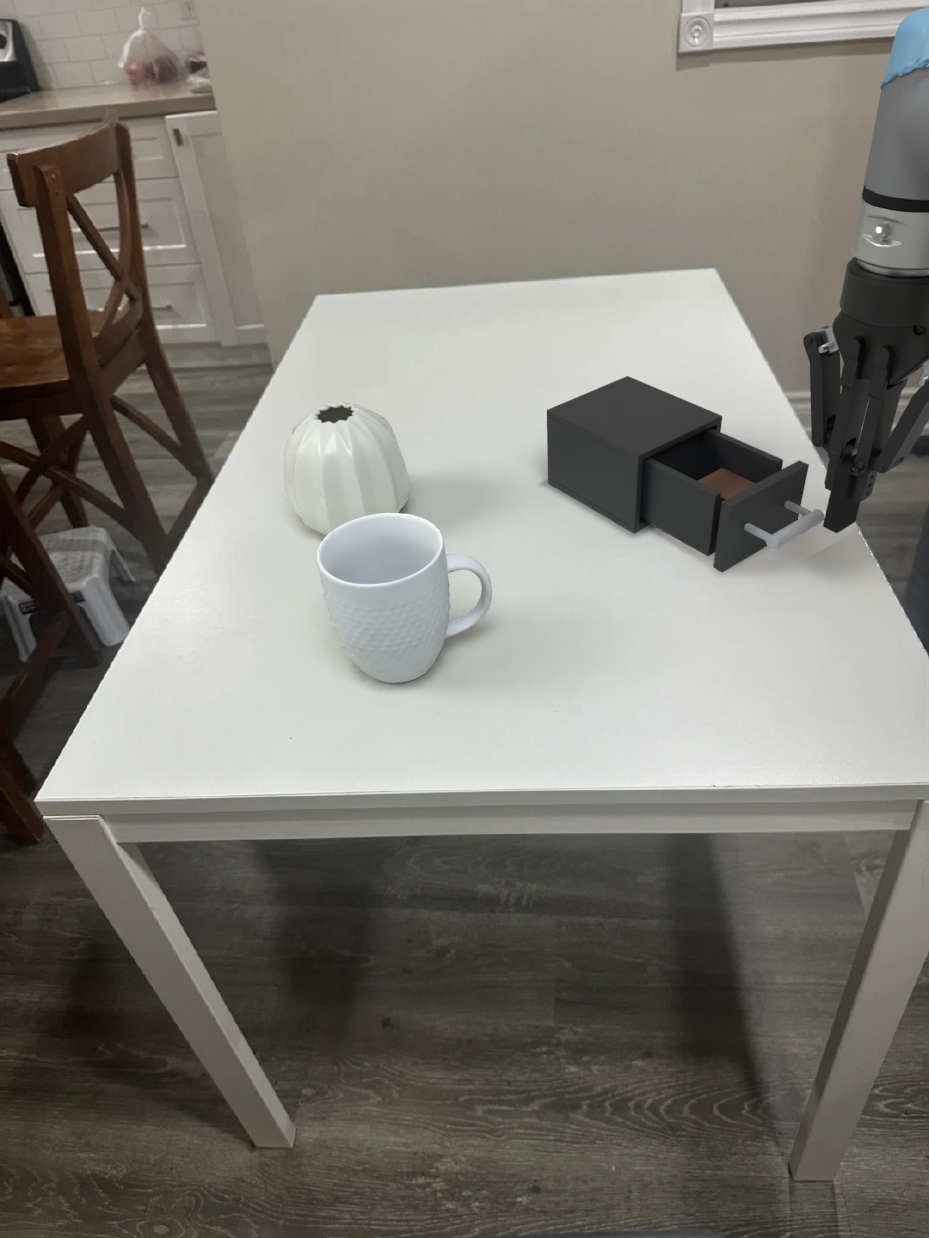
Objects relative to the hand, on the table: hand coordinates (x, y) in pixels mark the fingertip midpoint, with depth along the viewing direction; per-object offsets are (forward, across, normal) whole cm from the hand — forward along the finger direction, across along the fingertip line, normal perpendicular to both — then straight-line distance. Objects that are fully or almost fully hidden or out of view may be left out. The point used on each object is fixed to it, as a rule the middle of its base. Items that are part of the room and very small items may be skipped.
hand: (839, 524), depth 79 cm
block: (+6, -13, 0) cm, 15 cm away
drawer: (+7, -12, 0) cm, 14 cm away
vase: (+8, -44, -28) cm, 52 cm away
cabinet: (+8, -27, 0) cm, 28 cm away
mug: (+8, -19, -36) cm, 42 cm away
